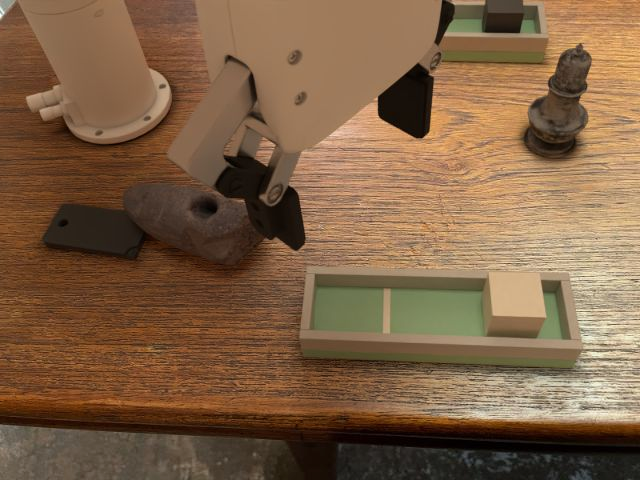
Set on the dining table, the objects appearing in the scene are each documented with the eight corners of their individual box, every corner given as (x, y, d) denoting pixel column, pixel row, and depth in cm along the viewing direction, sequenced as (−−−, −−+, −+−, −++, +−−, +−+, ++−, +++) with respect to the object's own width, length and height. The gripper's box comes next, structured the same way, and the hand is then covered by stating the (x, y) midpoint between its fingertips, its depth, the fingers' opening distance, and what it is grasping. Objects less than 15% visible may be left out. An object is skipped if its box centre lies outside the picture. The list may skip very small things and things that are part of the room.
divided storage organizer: (302, 357, 52) (298, 338, 49) (310, 286, 56) (306, 265, 53) (571, 368, 50) (583, 349, 47) (558, 293, 54) (569, 272, 51)
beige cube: (484, 339, 50) (492, 315, 47) (481, 297, 52) (488, 271, 49) (535, 341, 49) (546, 317, 46) (529, 298, 52) (539, 272, 49)
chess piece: (580, 162, 62) (618, 66, 52) (520, 157, 63) (546, 62, 54) (577, 122, 66) (613, 25, 56) (521, 118, 67) (546, 21, 57)
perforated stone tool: (118, 236, 61) (93, 191, 55) (148, 198, 63) (127, 151, 57) (251, 287, 56) (239, 244, 51) (277, 244, 59) (268, 198, 53)
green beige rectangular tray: (355, 59, 74) (354, 34, 72) (360, 24, 78) (359, -1, 76) (542, 63, 72) (549, 37, 69) (537, 26, 76) (543, 1, 73)
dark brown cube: (482, 42, 72) (487, 12, 69) (481, 22, 74) (486, -8, 71) (517, 43, 72) (524, 13, 68) (515, 22, 74) (522, -8, 71)
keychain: (132, 255, 58) (39, 241, 60) (135, 259, 59) (42, 245, 61) (152, 214, 61) (62, 202, 63) (154, 218, 62) (65, 206, 64)
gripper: (400, -298, 24) (393, 66, 37) (4, -125, 17) (174, 241, 31) (578, -273, 20) (499, 118, 34) (172, -42, 13) (278, 328, 27)
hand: (344, 176), depth 32 cm, fingers open, 9 cm apart
